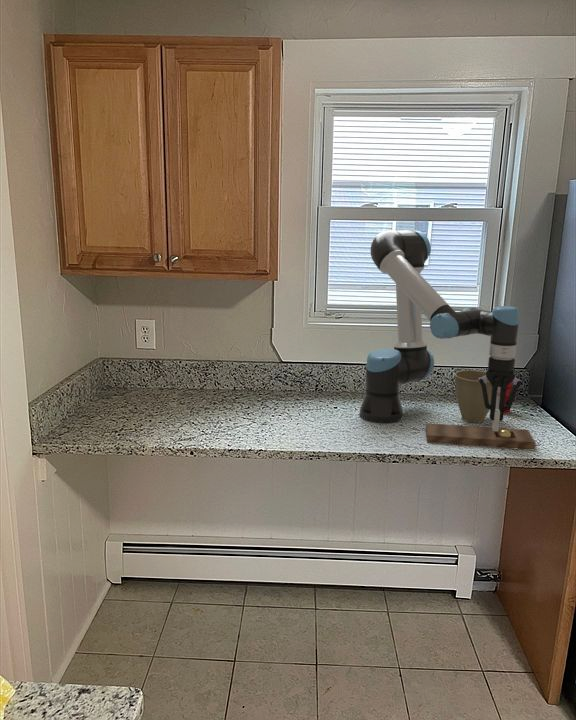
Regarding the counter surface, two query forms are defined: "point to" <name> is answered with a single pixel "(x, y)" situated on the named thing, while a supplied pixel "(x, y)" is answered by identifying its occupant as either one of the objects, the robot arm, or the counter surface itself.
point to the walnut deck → (478, 436)
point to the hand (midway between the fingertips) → (495, 429)
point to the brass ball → (504, 434)
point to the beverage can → (505, 396)
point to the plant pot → (472, 395)
